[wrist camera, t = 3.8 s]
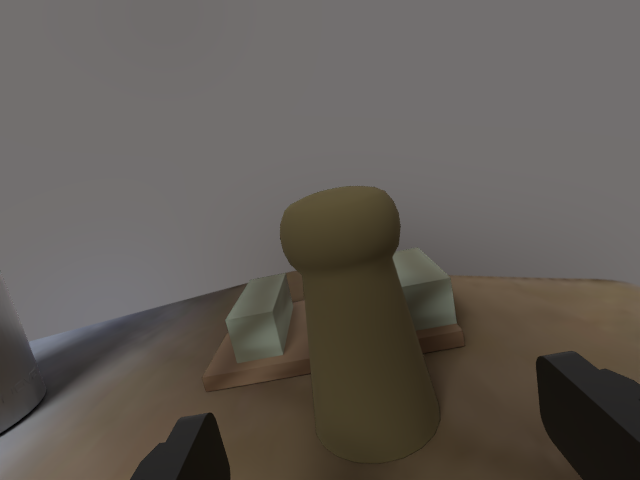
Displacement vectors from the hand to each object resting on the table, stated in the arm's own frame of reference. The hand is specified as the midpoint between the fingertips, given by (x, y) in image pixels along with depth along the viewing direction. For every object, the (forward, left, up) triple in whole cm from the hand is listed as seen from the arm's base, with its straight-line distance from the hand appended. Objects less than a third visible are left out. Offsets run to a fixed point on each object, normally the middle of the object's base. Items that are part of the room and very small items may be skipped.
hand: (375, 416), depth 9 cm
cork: (0, +8, -6) cm, 10 cm away
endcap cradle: (-1, +17, -6) cm, 18 cm away
